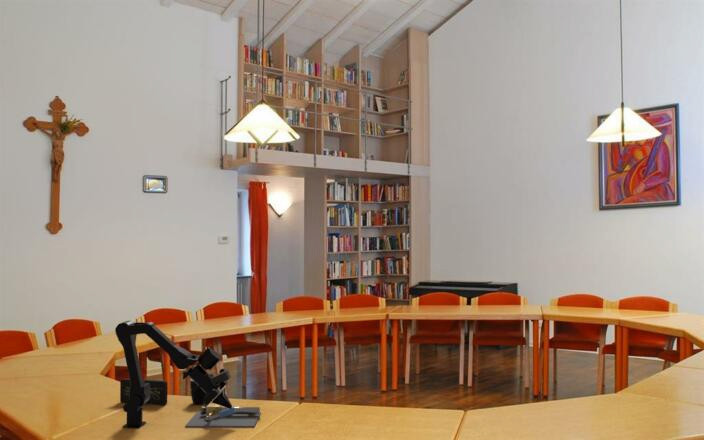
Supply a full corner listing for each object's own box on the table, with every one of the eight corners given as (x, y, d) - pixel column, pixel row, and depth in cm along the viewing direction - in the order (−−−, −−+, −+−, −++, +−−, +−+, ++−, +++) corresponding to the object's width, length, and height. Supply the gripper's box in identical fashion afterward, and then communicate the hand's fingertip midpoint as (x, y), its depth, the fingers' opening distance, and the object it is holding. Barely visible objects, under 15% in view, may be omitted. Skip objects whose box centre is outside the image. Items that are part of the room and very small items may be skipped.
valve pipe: (195, 423, 235) (195, 412, 236) (202, 414, 247) (202, 404, 247) (255, 423, 236) (255, 412, 236) (260, 414, 247) (260, 404, 247)
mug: (195, 399, 271) (195, 376, 272) (214, 400, 270) (214, 377, 270) (183, 407, 259) (184, 382, 260) (204, 408, 258) (204, 383, 258)
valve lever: (203, 417, 233) (233, 407, 234) (204, 416, 235) (234, 406, 235) (205, 422, 233) (235, 412, 234) (206, 421, 235) (236, 411, 235)
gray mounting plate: (184, 427, 232) (184, 425, 232) (196, 413, 250) (196, 412, 250) (254, 427, 232) (254, 425, 232) (261, 413, 250) (261, 412, 250)
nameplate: (167, 404, 264) (167, 380, 264) (165, 405, 262) (165, 381, 262) (122, 401, 268) (122, 378, 268) (120, 402, 266) (120, 379, 266)
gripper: (211, 368, 226) (242, 398, 225) (222, 358, 244) (250, 386, 244) (190, 390, 225) (220, 420, 225) (202, 378, 244) (230, 406, 244)
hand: (231, 407), depth 234 cm, fingers closed, pressing on valve lever
